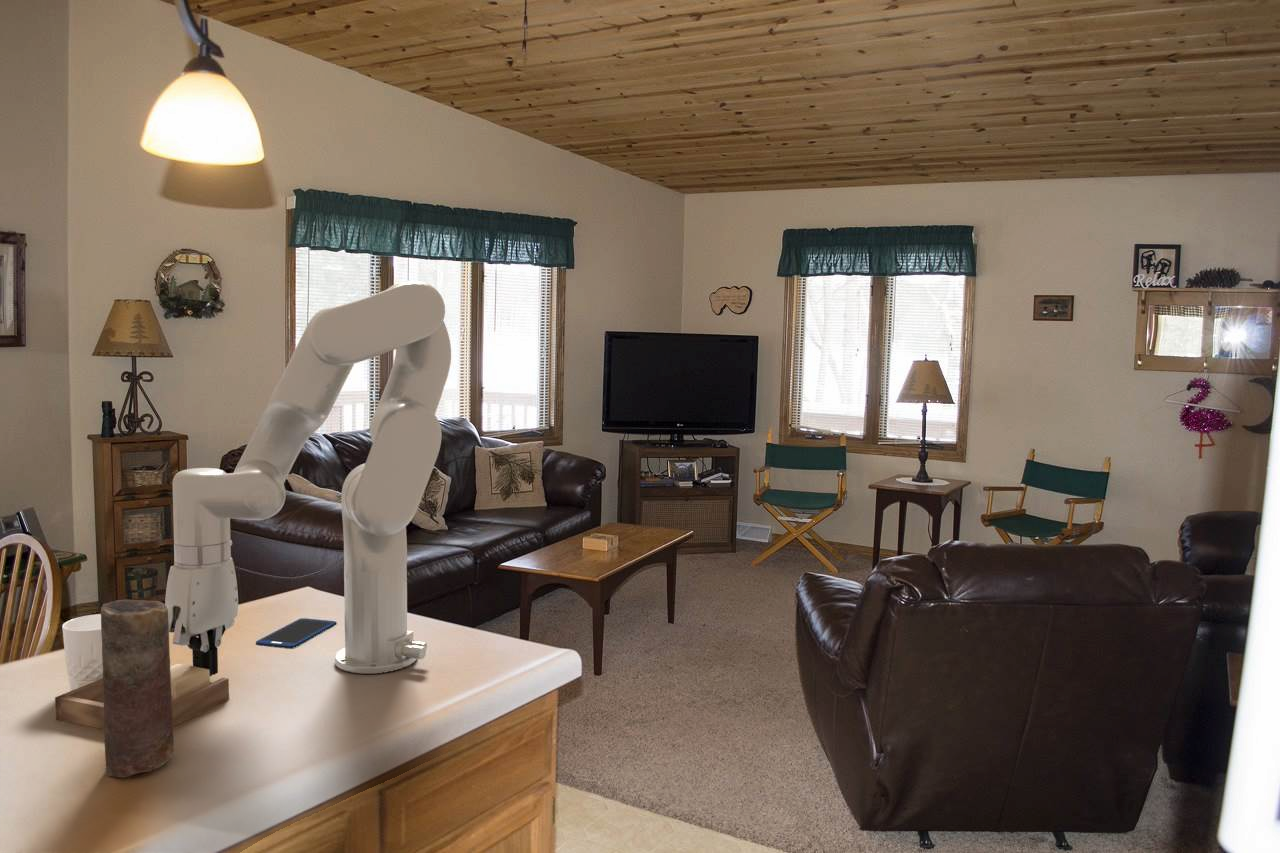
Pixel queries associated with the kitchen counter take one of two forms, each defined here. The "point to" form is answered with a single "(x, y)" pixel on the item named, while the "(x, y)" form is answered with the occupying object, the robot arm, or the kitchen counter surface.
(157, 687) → the candle
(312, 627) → the cell phone
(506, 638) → the kitchen counter surface
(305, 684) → the kitchen counter surface
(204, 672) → the tan square block
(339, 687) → the kitchen counter surface
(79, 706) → the corral
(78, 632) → the white cup
